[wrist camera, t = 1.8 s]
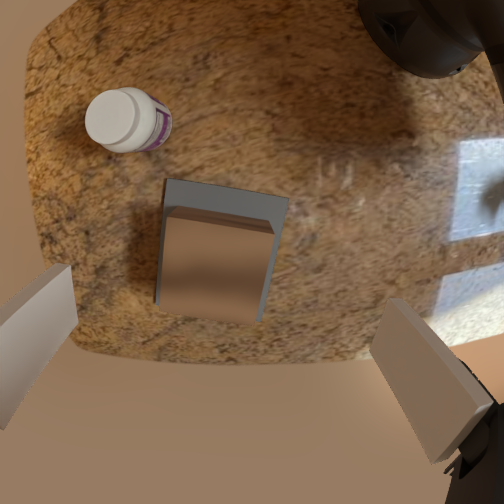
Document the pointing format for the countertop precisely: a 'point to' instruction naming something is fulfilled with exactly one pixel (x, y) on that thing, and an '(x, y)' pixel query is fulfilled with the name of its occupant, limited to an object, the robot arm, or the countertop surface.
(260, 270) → the base block
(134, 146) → the pill bottle
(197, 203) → the mat
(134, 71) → the countertop surface
